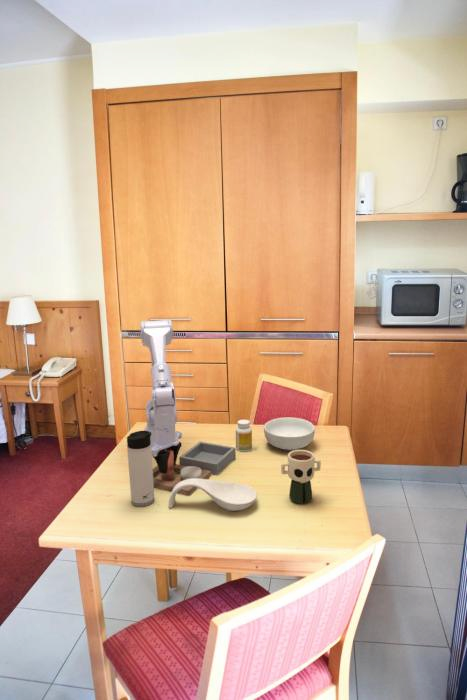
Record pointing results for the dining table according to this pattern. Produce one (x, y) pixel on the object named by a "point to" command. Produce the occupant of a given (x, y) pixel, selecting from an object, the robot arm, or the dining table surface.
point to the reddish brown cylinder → (169, 467)
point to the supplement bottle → (243, 436)
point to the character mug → (300, 474)
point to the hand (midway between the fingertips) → (167, 469)
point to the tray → (208, 457)
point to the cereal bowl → (289, 433)
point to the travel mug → (140, 468)
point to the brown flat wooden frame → (180, 478)
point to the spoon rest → (220, 493)
